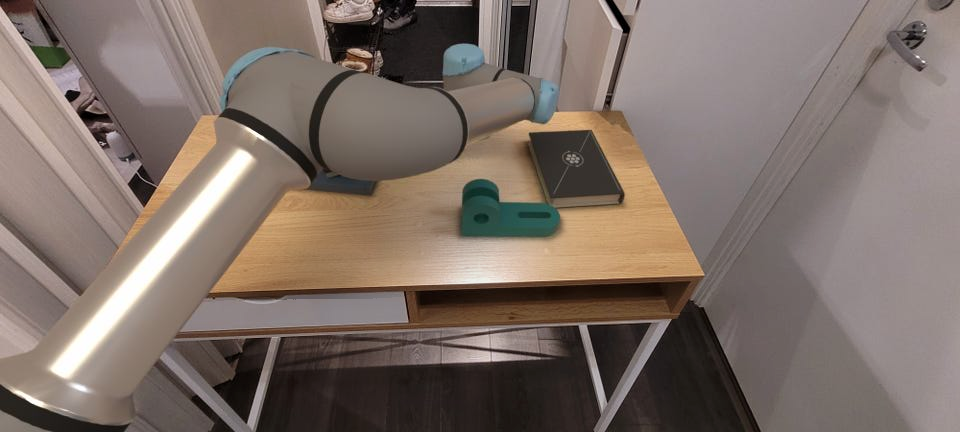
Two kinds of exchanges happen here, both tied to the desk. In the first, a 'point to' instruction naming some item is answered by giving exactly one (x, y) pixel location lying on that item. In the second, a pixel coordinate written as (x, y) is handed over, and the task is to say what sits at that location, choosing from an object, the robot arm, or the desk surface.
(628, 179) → the desk surface
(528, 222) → the bracket
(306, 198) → the desk surface
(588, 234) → the desk surface
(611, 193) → the book
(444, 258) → the desk surface
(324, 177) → the tray
